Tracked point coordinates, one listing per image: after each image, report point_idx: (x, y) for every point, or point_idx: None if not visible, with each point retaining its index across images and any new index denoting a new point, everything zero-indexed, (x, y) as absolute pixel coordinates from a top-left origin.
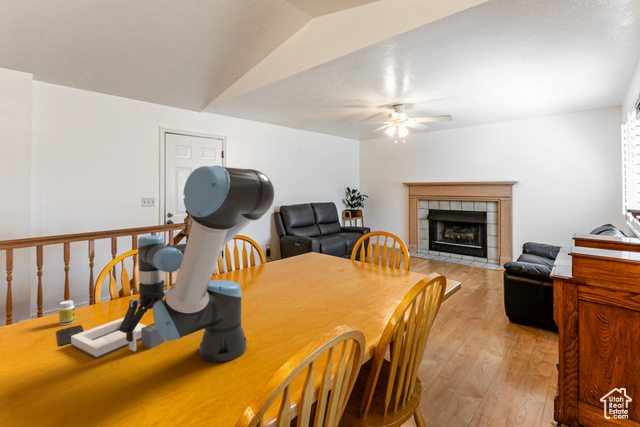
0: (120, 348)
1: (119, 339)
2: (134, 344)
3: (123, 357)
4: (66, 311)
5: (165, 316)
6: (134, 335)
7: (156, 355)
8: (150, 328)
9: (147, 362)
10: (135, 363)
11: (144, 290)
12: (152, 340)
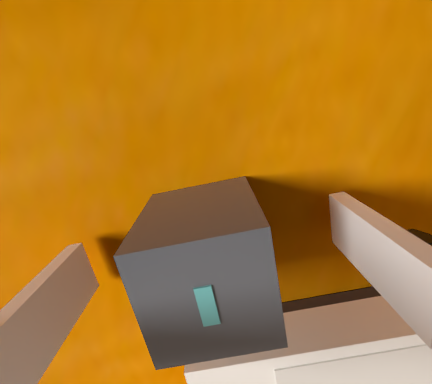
0: (349, 292)
1: (385, 337)
2: (365, 208)
3: (386, 193)
4: None
5: None
6: (419, 244)
7: (259, 57)
8: (236, 292)
9: (340, 6)
10: (388, 62)
11: None
12: (237, 195)
